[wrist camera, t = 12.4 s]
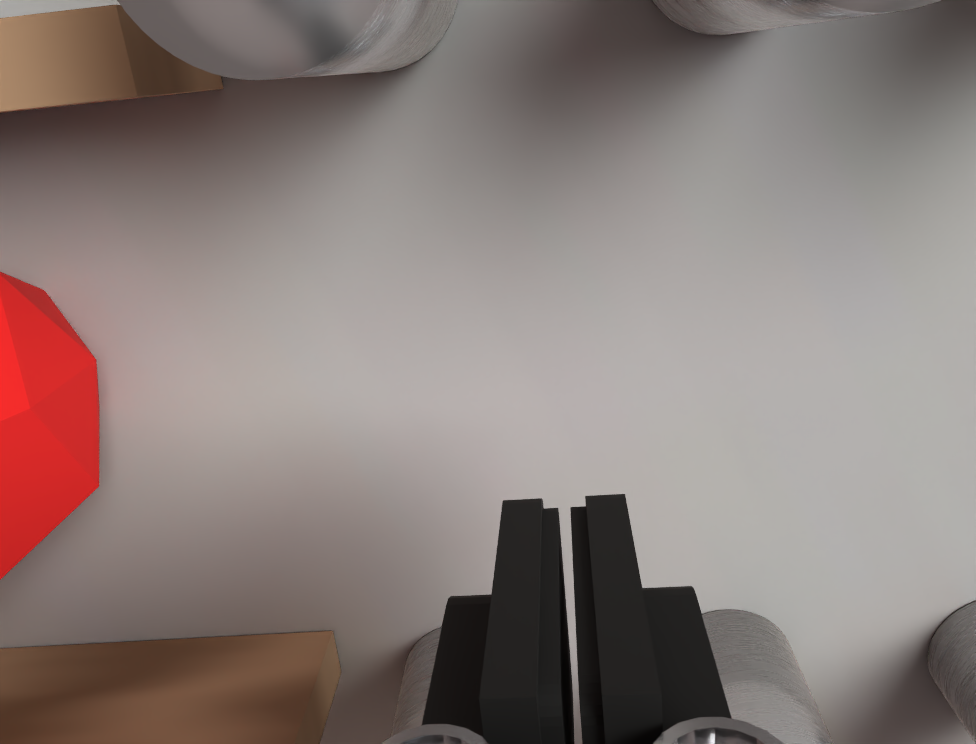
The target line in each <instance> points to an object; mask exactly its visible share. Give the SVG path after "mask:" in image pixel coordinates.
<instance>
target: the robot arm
mask: <svg viewBox="0 0 976 744" xmlns="http://www.w3.org/2000/svg"><path fill="white" fill-rule="evenodd" d="M585 498H586V507H571V528H572V550H573V572H574V594H575V616H576V638H577V660H578V681H579V699H580V714H581V728H582V741H583V744H784V743H783V742H781V741H780V740H779V739H777V738H776V737H775V736H773V735H772V734H770V733H769V732H768V731H766V730H764V729H762V728H759V727H757V726H755V725H752V724H750V723H748V722H745V721H741V720H736V719H732V718H731V714H730V711H729V707H728V704H727V700H726V697H725V693H724V690H723V686H722V683H721V679H720V676H719V673H718V669H717V666H716V662H715V659H714V655H713V652H712V648H711V645H710V641H709V638H708V634H707V631H706V628H705V624H704V621H703V617H702V614H701V610H700V607H699V603H698V600H697V596H696V593H695V591H694V588H693V587H692V586H685V587H661V588H642V585H641V579H640V574H639V569H638V563H637V558H636V552H635V547H634V541H633V536H632V530H631V525H630V519H629V514H628V508H627V503H626V498H625V494H616V495H598V496H585ZM381 744H574V718H573V692H572V675H571V662H570V649H569V637H568V624H567V611H566V599H565V586H564V573H563V561H562V548H561V536H560V523H559V512H558V508H548V509H544V508H543V500H542V499H523V500H505V501H503V504H502V512H501V521H500V529H499V537H498V546H497V554H496V562H495V571H494V579H493V587H492V595H471V596H451V597H449V598H448V601H447V605H446V609H445V614H444V619H443V624H442V629H441V633H440V638H439V643H438V648H437V653H436V658H435V662H434V667H433V672H432V677H431V682H430V687H429V691H428V696H427V701H426V706H425V711H424V716H423V720H422V725H421V726H418V727H415V728H411V729H407V730H404V731H402V732H400V733H398V734H396V735H394V736H392V737H390V738H388V739H386V740H385V741H384V742H383V743H381Z"/></svg>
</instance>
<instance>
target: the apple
mask: <svg viewBox="0 0 976 744" xmlns="http://www.w3.org/2000/svg"><path fill="white" fill-rule="evenodd" d="M98 487H99V394H98V379H97V364H96V359H95V358H94V356H93V355H92V354H91V352H90V351H89V350H88V348H87V347H86V346H85V344H84V343H83V342H82V340H81V339H80V338H79V336H78V335H77V333H76V332H75V331H74V329H73V328H72V327H71V325H70V324H69V323H68V321H67V320H66V319H65V317H64V316H63V315H62V313H61V312H60V311H59V309H58V308H57V307H56V305H55V304H54V303H53V301H52V300H51V299H50V297H49V296H48V295H47V293H46V292H45V291H44V290H42V289H40V288H37V287H35V286H32V285H30V284H28V283H25V282H23V281H21V280H18V279H16V278H14V277H11V276H9V275H6V274H4V273H2V272H0V579H1V578H3V577H4V576H5V575H6V574H7V573H8V572H9V571H10V570H11V569H12V568H13V567H14V566H15V565H16V564H17V563H18V562H19V561H20V560H22V559H23V558H24V557H25V556H26V555H27V554H28V553H29V552H30V551H31V550H32V549H33V548H34V547H35V546H36V545H37V544H38V543H40V542H41V541H42V540H43V539H44V538H45V537H46V536H47V535H48V534H49V533H50V532H51V531H52V530H53V529H54V528H55V527H56V526H58V525H59V524H60V523H61V522H62V521H63V520H64V519H65V518H66V517H67V516H68V515H69V514H70V513H71V512H72V511H73V510H74V509H76V508H77V507H78V506H79V505H80V504H81V503H82V502H83V501H84V500H85V499H86V498H87V497H88V496H89V495H90V494H91V493H92V492H93V491H95V490H96V489H97V488H98Z"/></svg>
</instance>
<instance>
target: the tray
mask: <svg viewBox="0 0 976 744" xmlns="http://www.w3.org/2000/svg"><path fill="white" fill-rule="evenodd" d="M218 89H223V84H222V79H221V76H220V75H216V74H212V73H210V72H207V71H204V70H202V69H199V68H197V67H194V66H192V65H190V64H188V63H186V62H185V61H183V60H181V59H179V58H177V57H175V56H174V55H172V54H171V53H170V52H168V51H167V50H165V49H164V48H162V47H161V46H160V45H158V44H157V43H156V42H155V41H154V40H152V39H151V38H150V37H149V36H148V35H147V34H146V33H145V32H144V31H142V30H141V29H140V28H139V26H138V25H137V24H136V23H135V22H134V21H133V20H132V19H131V17H130V16H129V15H128V14H127V13H126V12H125V10H124V9H123V7H122V6H121V5H109V6H100V7H92V8H83V9H75V10H66V11H58V12H49V13H41V14H32V15H24V16H15V17H7V18H0V113H5V112H14V111H23V110H32V109H42V108H51V107H60V106H69V105H79V104H88V103H97V102H107V101H116V100H125V99H134V98H144V97H153V96H162V95H172V94H181V93H190V92H199V91H209V90H218ZM340 675H341V668H340V663H339V658H338V653H337V648H336V643H335V638H334V633H333V631H321V632H302V633H284V634H265V635H246V636H227V637H208V638H190V639H171V640H152V641H133V642H115V643H96V644H77V645H58V646H40V647H21V648H2V649H0V744H319V743H320V740H321V737H322V734H323V730H324V727H325V724H326V721H327V717H328V714H329V711H330V708H331V704H332V701H333V698H334V695H335V691H336V688H337V685H338V681H339V678H340Z"/></svg>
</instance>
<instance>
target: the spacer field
mask: <svg viewBox="0 0 976 744" xmlns="http://www.w3.org/2000/svg"><path fill="white" fill-rule="evenodd" d="M938 1H941V0H653V2H654V3H655V5H656V6H657V7H658V8H659V9H660V10H661V11H662V12H663V13H664V14H665V15H666V16H667V17H668V18H670V19H671V20H672V21H673V22H675V23H677V24H678V25H680V26H682V27H684V28H686V29H689V30H691V31H694V32H698V33H702V34H709V35H728V34H735V33H743V32H750V31H758V30H765V29H773V28H780V27H787V26H795V25H802V24H810V23H817V22H824V21H832V20H839V19H847V18H854V17H862V16H869V15H876V14H884V13H891V12H898V11H904V10H909V9H915V8H919V7H922V6H926V5H929V4H932V3H935V2H938ZM118 2H119V3H120V5H121V6H122V7H123V9H124V10H125V12H126V13H127V14H128V15H129V16H130V17H131V19H132V20H133V21H134V22H135V23H136V24H137V25H138V26H139V28H140V29H141V30H142V31H144V32H145V33H146V34H147V35H148V36H149V37H150V38H151V39H152V40H154V41H155V42H156V43H157V44H158V45H160V46H161V47H162V48H164V49H165V50H167V51H168V52H170V53H171V54H172V55H174V56H175V57H177V58H179V59H181V60H183V61H185V62H186V63H188V64H190V65H192V66H194V67H197V68H199V69H202V70H204V71H207V72H210V73H212V74H216V75H220V76H225V77H229V78H234V79H244V80H271V79H285V78H299V77H314V76H328V75H342V74H356V73H370V72H385V71H391V70H396V69H399V68H402V67H405V66H408V65H410V64H412V63H414V62H416V61H418V60H419V59H421V58H422V57H423V56H425V55H426V54H427V53H428V52H430V51H431V50H432V49H433V48H434V47H435V46H436V44H437V43H438V42H439V41H440V40H441V39H442V37H443V35H444V34H445V32H446V31H447V29H448V27H449V25H450V23H451V21H452V19H453V16H454V13H455V10H456V7H457V2H458V0H118ZM702 617H703V621H704V624H705V628H706V631H707V634H708V638H709V641H710V645H711V648H712V652H713V655H714V659H715V662H716V666H717V669H718V673H719V676H720V679H721V683H722V686H723V690H724V693H725V697H726V700H727V704H728V707H729V711H730V714H731V718H732V719H736V720H741V721H745V722H748V723H750V724H752V725H755V726H757V727H759V728H762V729H764V730H766V731H768V732H769V733H770V734H772V735H773V736H775V737H776V738H777V739H779V740H780V741H781V742H783V743H784V744H834V743H833V741H832V739H831V736H830V734H829V732H828V730H827V727H826V725H825V723H824V721H823V718H822V716H821V714H820V712H819V709H818V707H817V705H816V703H815V701H814V698H813V696H812V694H811V692H810V689H809V687H808V685H807V683H806V680H805V678H804V676H803V674H802V671H801V669H800V667H799V665H798V662H797V660H796V658H795V656H794V654H793V651H792V649H791V647H790V645H789V642H788V640H787V639H786V637H785V635H784V634H783V633H782V631H781V630H780V629H779V628H778V627H777V626H776V625H775V624H773V623H772V622H770V621H769V620H767V619H766V618H764V617H762V616H759V615H757V614H754V613H750V612H746V611H740V610H720V611H714V612H709V613H706V614H703V615H702ZM441 629H442V628H439V629H436V630H434V631H432V632H430V633H429V634H427V635H426V636H424V637H423V638H422V639H420V640H419V641H418V642H417V643H416V644H415V646H414V647H413V648H412V650H411V651H410V653H409V655H408V658H407V660H406V664H405V669H404V674H403V679H402V683H401V688H400V693H399V698H398V703H397V708H396V713H395V718H394V723H393V727H392V732H391V737H392V736H394V735H396V734H398V733H400V732H402V731H404V730H407V729H411V728H415V727H418V726H421V725H422V720H423V716H424V711H425V706H426V701H427V696H428V691H429V687H430V682H431V677H432V672H433V667H434V662H435V658H436V653H437V648H438V643H439V638H440V633H441ZM927 661H928V668H929V671H930V674H931V676H932V678H933V680H934V681H935V683H936V684H937V686H938V687H939V689H940V690H941V692H942V693H943V695H944V697H945V698H946V700H947V701H948V703H949V704H950V706H951V707H952V709H953V710H954V712H955V713H956V715H957V716H958V718H959V719H960V721H961V723H962V724H963V726H964V727H965V729H966V730H967V732H968V733H969V735H970V736H971V738H972V739H973V741H974V742H975V744H976V601H975V602H973V603H971V604H968V605H966V606H965V607H963V608H961V609H959V610H958V611H956V612H955V613H954V614H952V615H951V616H950V617H949V618H948V619H946V620H945V621H944V623H943V624H942V625H941V626H940V627H939V628H938V630H937V631H936V633H935V634H934V636H933V638H932V640H931V643H930V646H929V650H928V660H927Z"/></svg>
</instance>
